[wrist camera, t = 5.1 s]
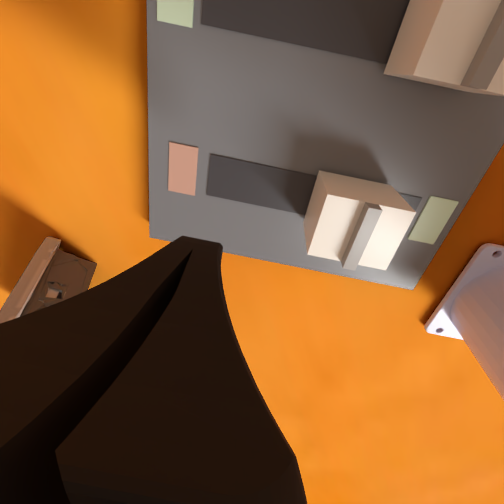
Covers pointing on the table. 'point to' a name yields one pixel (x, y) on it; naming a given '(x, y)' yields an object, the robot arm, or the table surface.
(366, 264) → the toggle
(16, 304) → the electrical switch
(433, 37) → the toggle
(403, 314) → the table surface
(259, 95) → the switch panel
